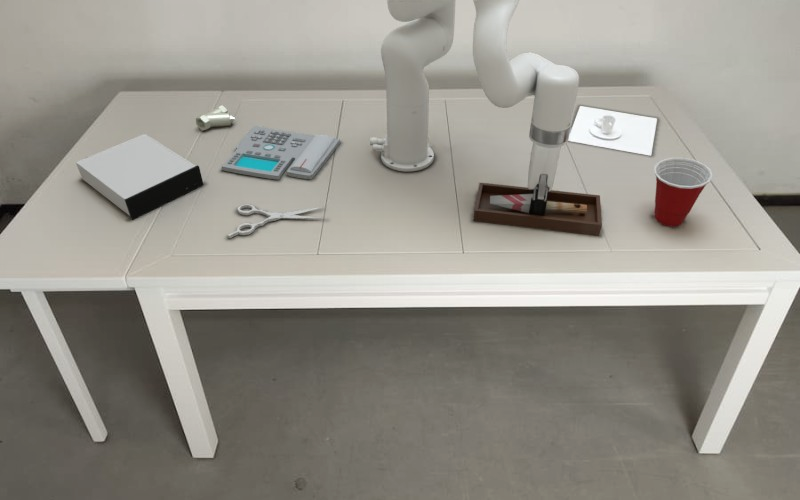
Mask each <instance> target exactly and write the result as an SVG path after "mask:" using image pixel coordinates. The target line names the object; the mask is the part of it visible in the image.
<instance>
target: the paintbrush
mask: <svg viewBox="0 0 800 500" xmlns="http://www.w3.org/2000/svg"><path fill="white" fill-rule="evenodd" d="M531 198H533V194H520V195H499V196H490V204H494V205H498V206H502V207H506V208H510V209H514V210H518V211H522V212H526V213H529V209H530V203H531ZM546 210H554V211H564V212H576V213H584V214H585V213H586V211H587V205H581V204H571V203H560V202H551V201H547V204H546Z"/></svg>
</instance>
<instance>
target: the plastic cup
mask: <svg viewBox="0 0 800 500" xmlns="http://www.w3.org/2000/svg"><path fill="white" fill-rule="evenodd" d="M653 171H654V176H655V179H656V180H655V182H656V183H655V184H656V185H655V197H654V219H655V220H656V222H657V223H659V224H661V225H663V226H666V227H672V228H673V227H679V226H681V225H682V224H683V223H684V221H686V218H687V216H688V215H689V214H690V212H691V211H692V209H693V207H694V205H695V203H696V202H697V200H698V198H699V196H700V195H701V194H702V192H703V191H704V189H705V187H706V186H707V185H708V184H709V183H710V181H711V180H712V178H713V173H712V170H711V168H710V167H708V166H707V165H706V164H704V163H703V162H701V161H698V160H696V159H693V158H692V159H691V158H688V157H676V156H675V157H668V158H664V159H661V160H660V161H657V162H656V164H655V165H654V167H653Z"/></svg>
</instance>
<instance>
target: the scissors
mask: <svg viewBox="0 0 800 500" xmlns="http://www.w3.org/2000/svg"><path fill="white" fill-rule="evenodd" d="M245 208H246V209H247V208H250V209H249V210H242V209H245ZM322 208H323V206H321V207H314V208H306V209H299V210H294V211H288V212H270V211H265V210H264V209H257V208H256V206H254V205H253V204H249V203H244V204H241V205H239V206H238V207H237V212H238V214H239V215H243V216H250V215H252V214H261V215H262V216H265V217H266V218H265V219H264V220H262V221H259V222H255V223H250V222H244V223H241V224H240V225H238V226H237V228H236V230H234V231H233V232H230V233H228V234H227V237H228V239H232V238H233V237H235V236H238V235H240V236H247V235H250V234H252V233H254V232H255V231H256V229H258V228H259V227H263V226H264V225H266V224H267V223H269V222H274V221H278V220H280V219H293V220H294V219H297V220H298V219H300V220H302V219H303V220H304V219H306V220H307V219H317V220H321V217H320V216H308V215H299V214H304V213H306V212H307V213H308V212H310V211H314V210H318V209H322ZM245 228H249V229H248V230H242V229H245Z"/></svg>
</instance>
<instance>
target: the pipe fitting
mask: <svg viewBox="0 0 800 500" xmlns="http://www.w3.org/2000/svg"><path fill="white" fill-rule="evenodd" d="M235 118H236V117H235V116H233V115H230V112H229V111H228V110H227V108H226V107H225V106H224V105H218V106H216V107H214V108H213V109H212V110H210V111H208V112H206V113H205V114H203V115H200V116H197V117H196V118H195V124H196V126H197V128H198V129H200V131H202V132H203V131H206V130H208V129H210V128H214V127H228V126H231V124H232V123H234V121H236V119H235Z"/></svg>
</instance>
